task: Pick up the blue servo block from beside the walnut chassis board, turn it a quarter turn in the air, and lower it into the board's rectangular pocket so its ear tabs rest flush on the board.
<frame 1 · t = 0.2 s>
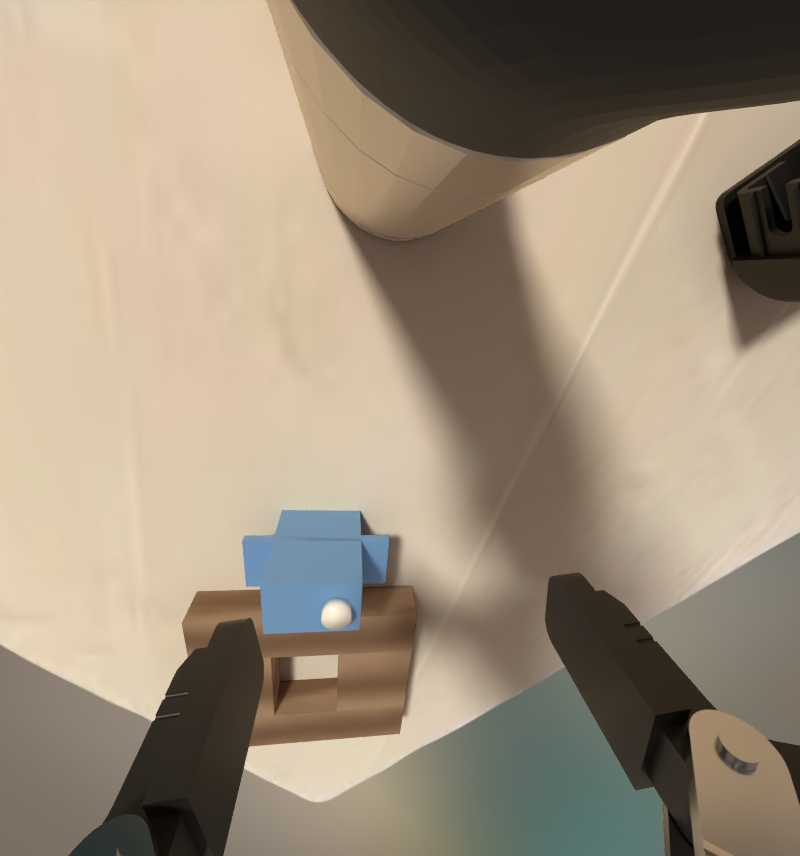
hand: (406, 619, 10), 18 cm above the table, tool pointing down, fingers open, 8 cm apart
chassis board: (309, 653, 35), on the table
servo: (321, 531, 30), on the table
end cap: (785, 207, 24), on the table
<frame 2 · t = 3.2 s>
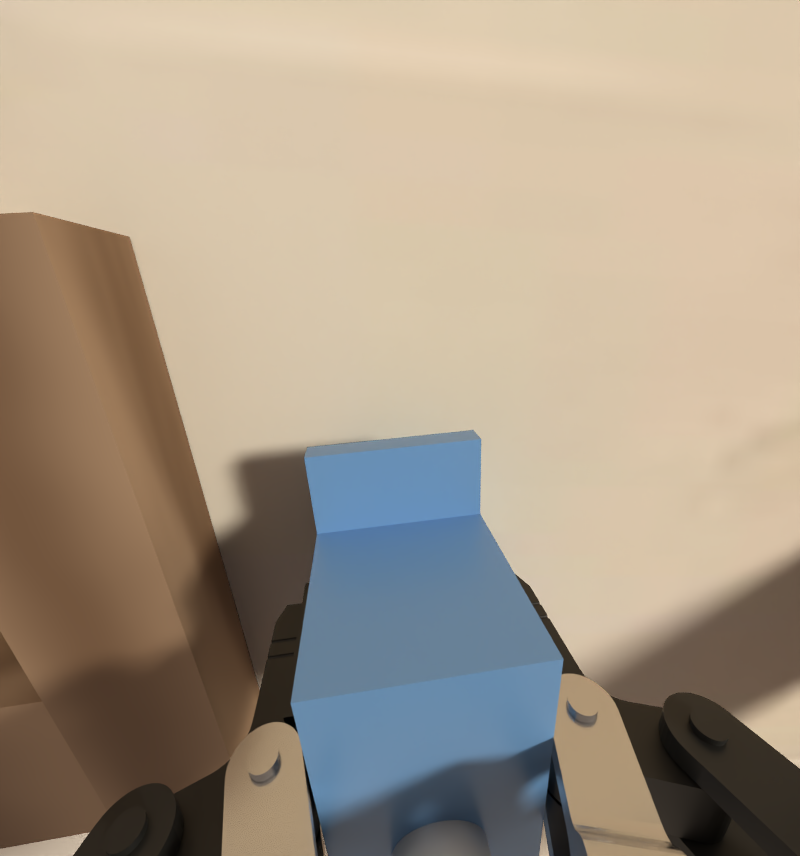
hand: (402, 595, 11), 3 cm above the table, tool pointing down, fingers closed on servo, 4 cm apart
servo: (393, 536, 13), on the table, touching gripper
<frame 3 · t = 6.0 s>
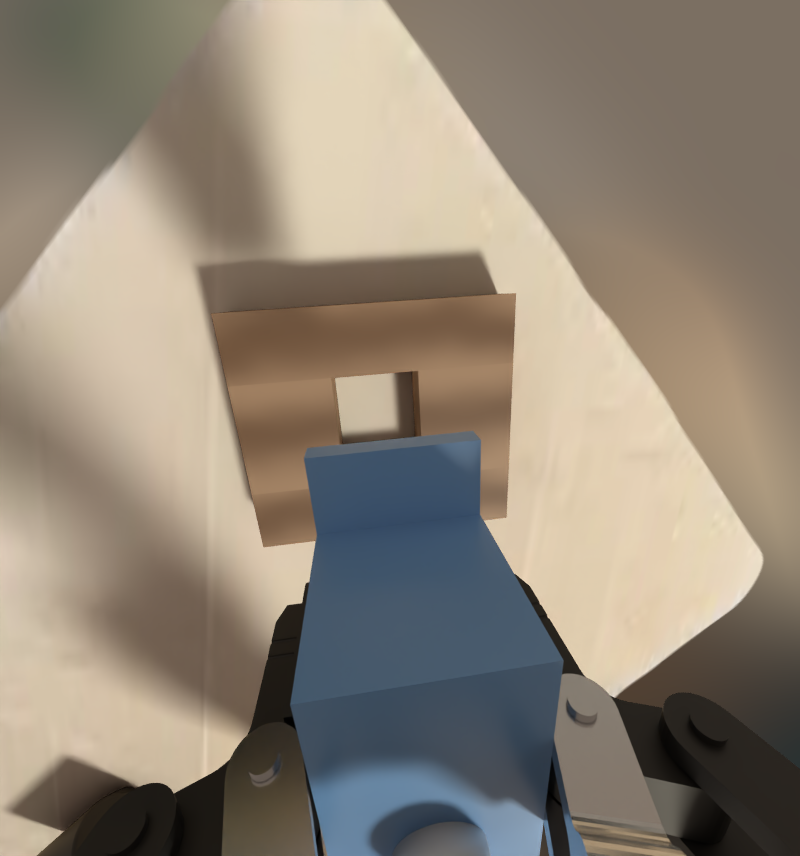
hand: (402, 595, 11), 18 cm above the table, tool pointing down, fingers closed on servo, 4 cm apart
chassis board: (377, 416, 27), on the table
servo: (393, 536, 13), point 15 cm above the table, touching gripper
end cap: (111, 808, 38), on the table
when the fingers open (4 cm above the table, at t = 9.0 s): servo stays where it is, resting on chassis board.
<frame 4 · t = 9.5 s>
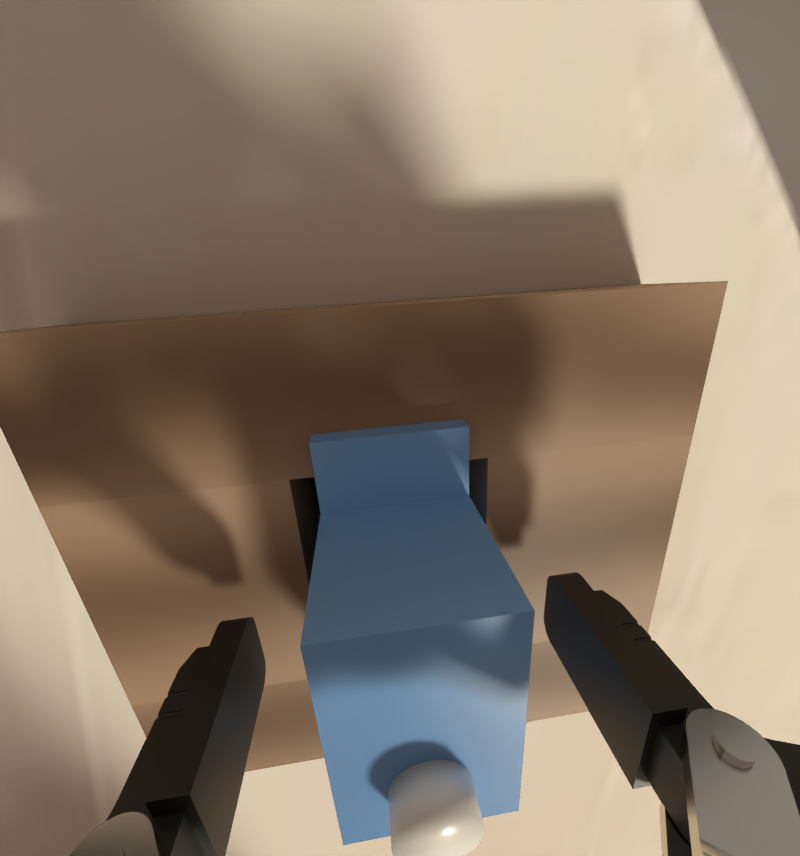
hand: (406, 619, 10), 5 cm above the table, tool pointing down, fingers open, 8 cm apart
chassis board: (390, 521, 14), on the table
servo: (391, 521, 14), resting on chassis board
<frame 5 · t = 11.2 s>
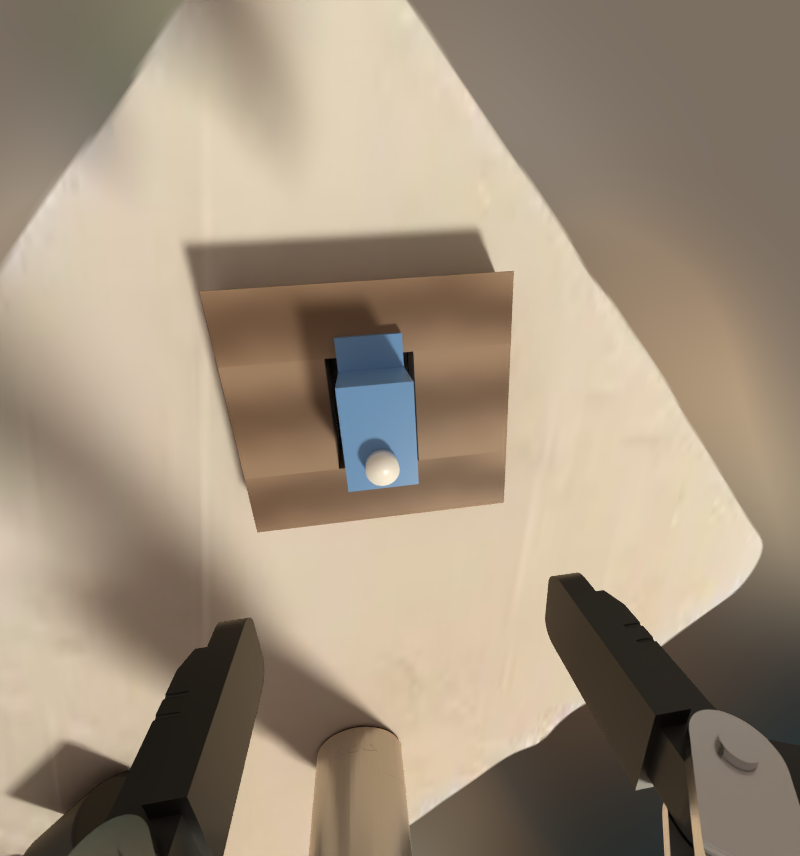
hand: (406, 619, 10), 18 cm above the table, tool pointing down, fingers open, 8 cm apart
chassis board: (372, 400, 27), on the table
servo: (372, 400, 27), resting on chassis board
end cap: (111, 792, 39), on the table
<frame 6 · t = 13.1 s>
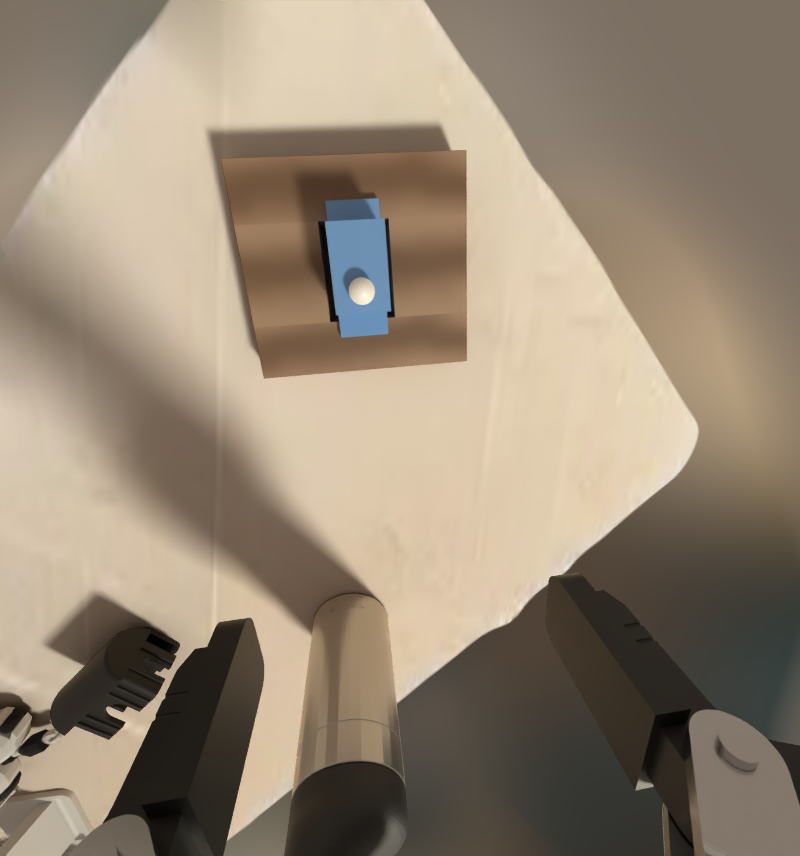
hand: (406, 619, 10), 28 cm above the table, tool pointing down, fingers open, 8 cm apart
chassis board: (358, 273, 33), on the table
phone holder: (54, 827, 53), on the table
servo: (358, 274, 33), resting on chassis board
end cap: (133, 650, 44), on the table
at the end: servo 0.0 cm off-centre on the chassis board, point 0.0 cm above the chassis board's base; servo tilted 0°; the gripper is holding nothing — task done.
